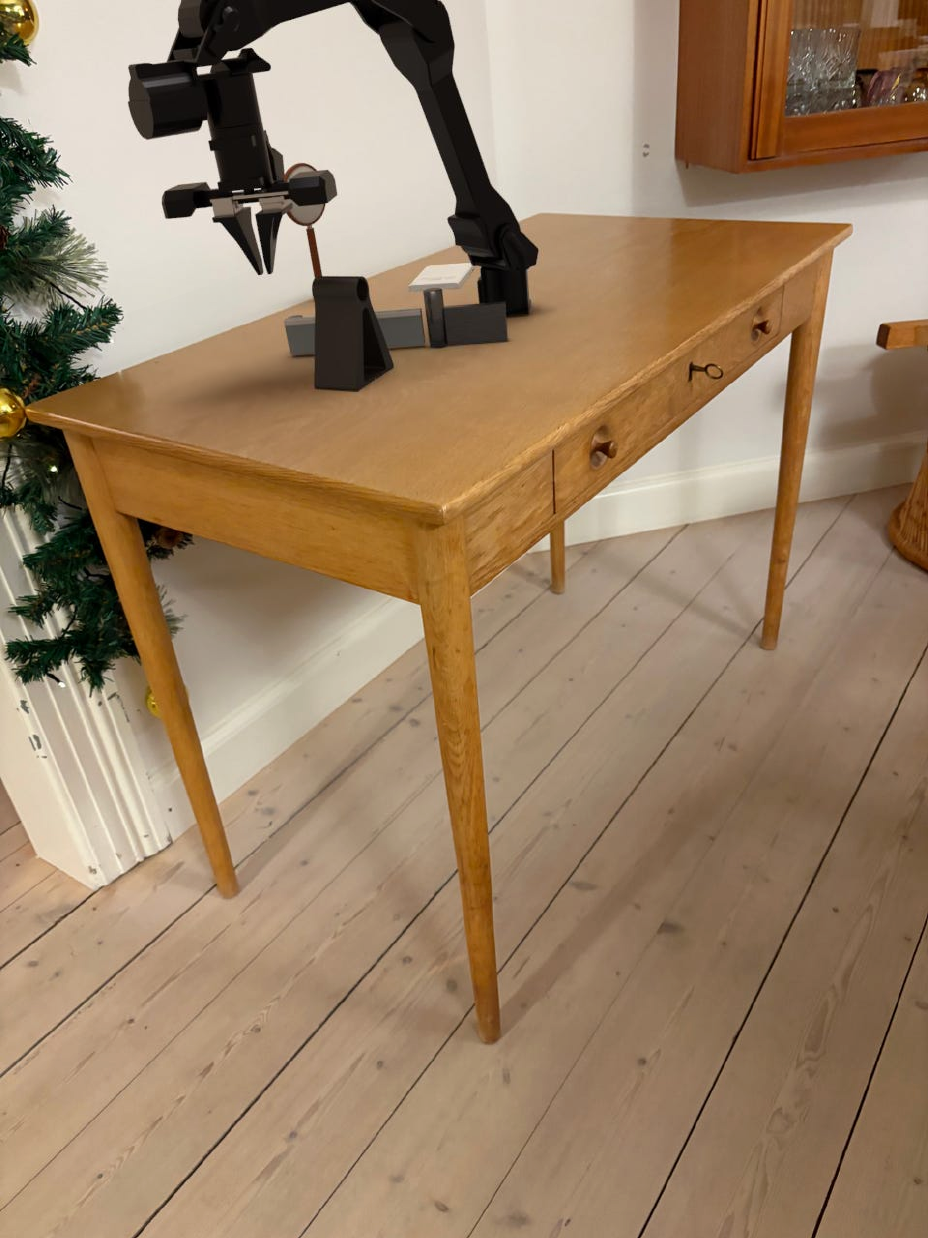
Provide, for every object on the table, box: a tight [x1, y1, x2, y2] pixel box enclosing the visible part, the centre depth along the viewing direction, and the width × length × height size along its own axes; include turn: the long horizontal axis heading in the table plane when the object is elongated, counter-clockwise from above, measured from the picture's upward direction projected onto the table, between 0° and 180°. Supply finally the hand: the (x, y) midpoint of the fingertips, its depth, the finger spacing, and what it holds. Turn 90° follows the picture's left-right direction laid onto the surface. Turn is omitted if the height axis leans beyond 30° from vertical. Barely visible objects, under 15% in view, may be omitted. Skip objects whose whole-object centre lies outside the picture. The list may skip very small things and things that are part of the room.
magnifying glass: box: [285, 162, 327, 279], centre depth 149 cm, size 9×2×20 cm, turn 142°
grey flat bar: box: [283, 307, 426, 356], centre depth 128 cm, size 18×1×4 cm, turn 84°
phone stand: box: [311, 275, 395, 392], centre depth 117 cm, size 9×6×12 cm, turn 154°
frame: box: [287, 288, 509, 349], centre depth 127 cm, size 29×2×7 cm, turn 79°
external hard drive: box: [407, 262, 475, 292], centre depth 158 cm, size 2×8×12 cm
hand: (265, 273), depth 114 cm, fingers closed
